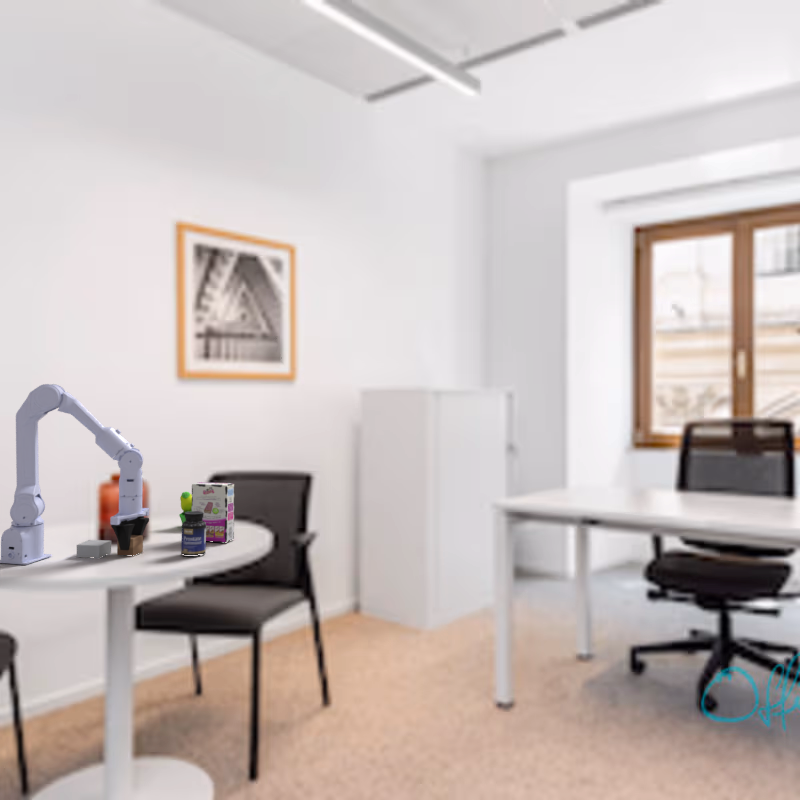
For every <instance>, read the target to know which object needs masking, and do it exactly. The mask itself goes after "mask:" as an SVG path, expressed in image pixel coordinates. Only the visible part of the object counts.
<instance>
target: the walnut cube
mask: <svg viewBox="0 0 800 800" xmlns="http://www.w3.org/2000/svg"><path fill="white" fill-rule="evenodd" d="M116 540H117V541H116V542H117V543H116V544H117V549H116V551H117V553H116V555H132V556H133V555H136V554H138V553H141V552H143V553H144V551H143V550H144V536H141V535H131V539H130V547H129V550H120V547H119V543H118V539H116ZM141 554H142V553H141ZM138 555H139V554H138ZM136 556H137V555H136ZM133 557H134V556H133Z"/></svg>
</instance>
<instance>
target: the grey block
mask: <svg viewBox="0 0 800 800" xmlns="http://www.w3.org/2000/svg"><path fill="white" fill-rule="evenodd" d="M109 553H111V554H112V540H101V539H88V540H86V541H83V542H81V543H78V544H76V558H77V557H94V558H93V559H97V558H100V557H102V556H104V555H106V554H108V555H110V554H109ZM106 556H107V555H106ZM104 557H105V556H104ZM102 558H103V557H102ZM100 559H101V558H100Z"/></svg>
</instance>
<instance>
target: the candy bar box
mask: <svg viewBox="0 0 800 800" xmlns="http://www.w3.org/2000/svg"><path fill="white" fill-rule="evenodd" d="M191 495H192V511H201V512H203V513H204V517H203V521H204V522H205V523H206V541H213V542H227V541H230V540H232V539H234V540H235V483H230V482H227V483H226V482H202V481H201V482H195V483H191ZM213 542H212V543H213Z"/></svg>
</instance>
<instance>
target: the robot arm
mask: <svg viewBox="0 0 800 800" xmlns="http://www.w3.org/2000/svg"><path fill="white" fill-rule="evenodd" d="M56 409H57V412H59V413H65V414H68V415H71V416H73V418H74V419H76V420H77V421H78V422H79V423H80V424H82V426H84V427H85V428H86V429H87V430H89V432H90V433H92V435H94V437H95V444H96V445H97V446H98V447H99V448H100V449H101V450H102V451H104V453H105V454H107V456H108V457H110V458H111V459H112V461H117V464H118V465H117V466H118V468H119V470H120V471H119V479H118V512H117V513H116V514H114V515H112V516H110V518H109V519H110V522H109V524H110V527H111V529H112V531H114V533H115V535H116V538H117V539H118V543H119V547H120V550H129V547H130V539H131V535H141V536H143V535H144V532H145V529H146V527H147V526H148V524H149V522H150V518H149V517H148V516H150V508H149V507H143V489H144V488H143V486H144V485H143V481H144V480H143V479H144V478H143V470H142V469H143V468H142V467H143V463H144V455H143V454H142V452H141V451H140V449H139V448H135V444H134V443H133V442H131V443H130V441H128V440H127V439H126V438H125V437H123V435H121V433H122V431H121V430H120V429H119V428H117V429H115V428H114V427H112V426H104V424H103V423H101V421H100V420H99V419H97V417H95V415H93V413H91V411H89V409H88V408H87V407H86V406H84V404H83V403H82V402H81V401H80V400H79V399H78V398H77V397H75V396H74V395H72V394H71V393H70V392H68V391H66V390H65V389H64V388H63V387H62V386H61V385H59V384H54V383H53V384H51V383H45V384H41V385H39V386H36V388H34V389H33V390H31V391H30V392H29V394H28V395H27V397H26V399H25V400H24V401H23V403H22V404H21V405H20V407H19V409H18V410H17V412H16V413H15V452H16V453H15V455H16V456H15V458H16V459H15V463H16V464H15V465H16V468H15V470H16V488H15V492H14V494H13V495H14V496H13V499H14V500H13V502H12V505H11V508H10V510H9V516H10V519H11V520H12V521H11V523H10V524H11V525H10V526H9V528H7V529H6V530H4V531H3V533H2V534H1V537H0V564H11V565H24V566H25V565H29V564H32V563H35V562H38V561H42V560H44V559H47V558H50V557H52V555H53V554H51V553H45V552H44V551H45V544H44V543H45V542H44V541H45V539H44V538H45V520H44V519H43V518H42V515H43V513H44V512H45V508H46V503H45V500H44V499H43V497H42V494H41V486H40V483H39V482H40V477H39V466H40V465H39V421H40V420H42V418H44V417H45V416H46V415H48V413H50V412H53V411H54V410H56ZM143 537H144V536H143ZM117 539H116V540H117Z"/></svg>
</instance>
